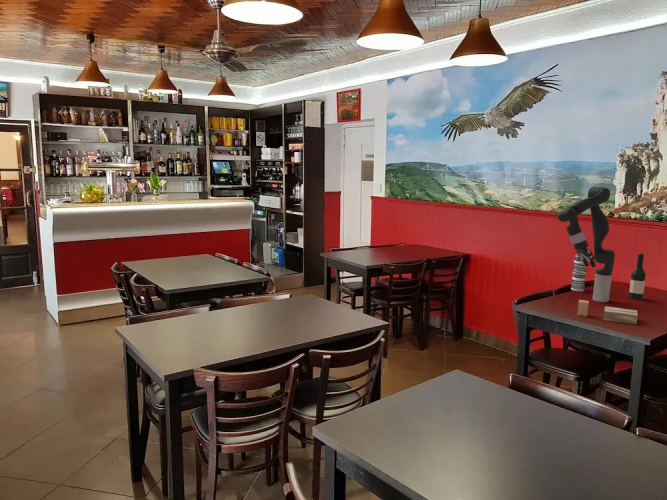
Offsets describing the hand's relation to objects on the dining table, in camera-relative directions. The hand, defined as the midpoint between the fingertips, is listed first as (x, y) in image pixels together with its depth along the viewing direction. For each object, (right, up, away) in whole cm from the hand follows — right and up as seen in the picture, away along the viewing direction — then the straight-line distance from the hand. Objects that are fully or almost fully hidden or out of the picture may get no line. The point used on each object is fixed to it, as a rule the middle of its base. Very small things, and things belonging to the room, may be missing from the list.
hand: (590, 266), depth 297 cm
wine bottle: (+50, -22, +41) cm, 69 cm away
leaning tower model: (+22, -18, +62) cm, 68 cm away
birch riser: (+13, -29, -8) cm, 33 cm away
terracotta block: (-5, -28, 0) cm, 28 cm away
